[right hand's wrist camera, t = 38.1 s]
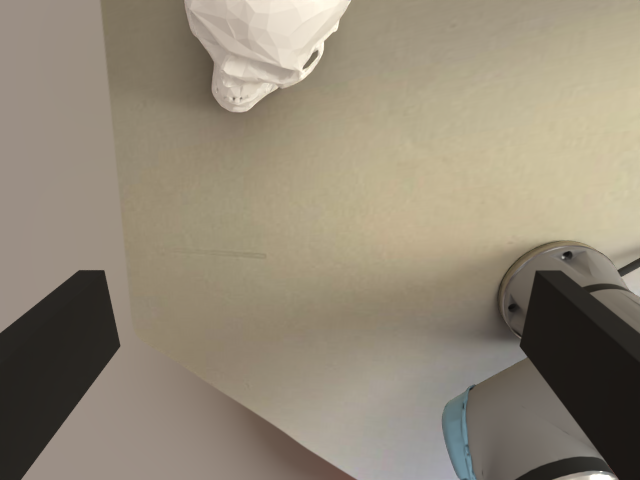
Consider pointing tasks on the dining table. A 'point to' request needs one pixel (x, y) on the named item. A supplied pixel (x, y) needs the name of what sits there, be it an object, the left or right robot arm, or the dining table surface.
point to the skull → (261, 43)
